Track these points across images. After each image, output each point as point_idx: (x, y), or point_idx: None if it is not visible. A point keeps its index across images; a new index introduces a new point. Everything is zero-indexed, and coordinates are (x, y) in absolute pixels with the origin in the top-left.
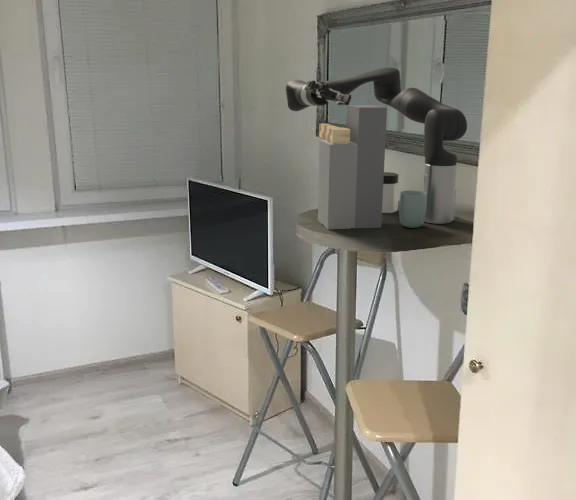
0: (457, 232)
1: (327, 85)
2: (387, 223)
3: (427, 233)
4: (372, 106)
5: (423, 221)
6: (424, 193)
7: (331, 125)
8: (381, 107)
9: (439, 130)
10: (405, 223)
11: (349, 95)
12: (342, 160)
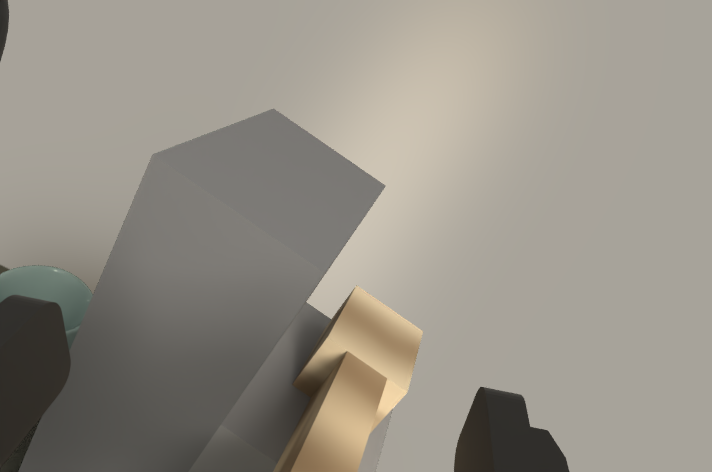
0: (3, 268)
1: (481, 392)
2: (21, 455)
3: None
4: (275, 152)
5: None
6: (5, 277)
7: (310, 465)
8: (296, 124)
9: (3, 49)
10: None
11: (58, 306)
12: None
